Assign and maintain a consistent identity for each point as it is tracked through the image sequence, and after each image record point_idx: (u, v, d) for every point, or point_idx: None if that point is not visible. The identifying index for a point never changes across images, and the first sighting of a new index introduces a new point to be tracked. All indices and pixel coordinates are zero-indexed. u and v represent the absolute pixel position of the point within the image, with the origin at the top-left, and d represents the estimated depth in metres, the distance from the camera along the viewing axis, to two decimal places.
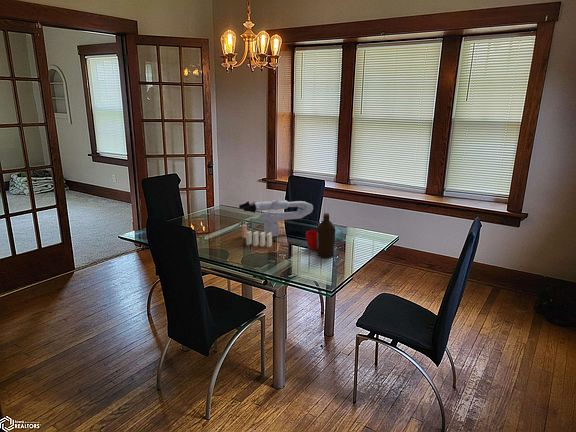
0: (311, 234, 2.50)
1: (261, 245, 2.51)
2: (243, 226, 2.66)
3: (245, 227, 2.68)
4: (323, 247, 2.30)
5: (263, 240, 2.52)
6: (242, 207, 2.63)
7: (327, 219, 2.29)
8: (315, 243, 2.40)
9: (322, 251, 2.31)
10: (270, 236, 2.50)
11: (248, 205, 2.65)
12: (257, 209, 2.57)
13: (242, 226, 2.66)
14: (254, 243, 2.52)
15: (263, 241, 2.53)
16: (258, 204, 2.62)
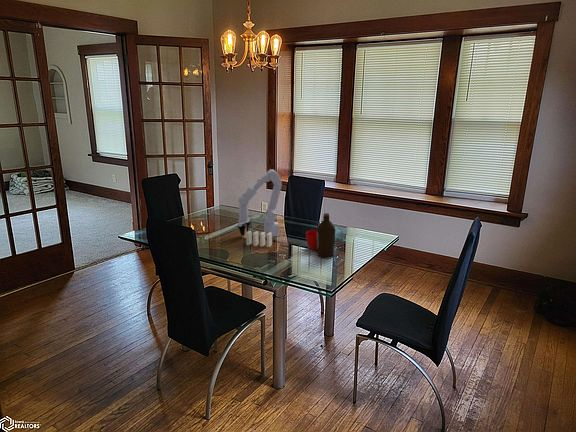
0: (311, 234, 2.50)
1: (261, 245, 2.51)
2: None
3: None
4: (323, 247, 2.30)
5: (263, 240, 2.52)
6: None
7: (327, 219, 2.29)
8: (315, 243, 2.40)
9: (322, 251, 2.31)
10: (270, 236, 2.50)
11: (245, 223, 2.71)
12: (240, 225, 2.61)
13: None
14: (254, 243, 2.52)
15: (263, 241, 2.53)
16: (240, 218, 2.65)
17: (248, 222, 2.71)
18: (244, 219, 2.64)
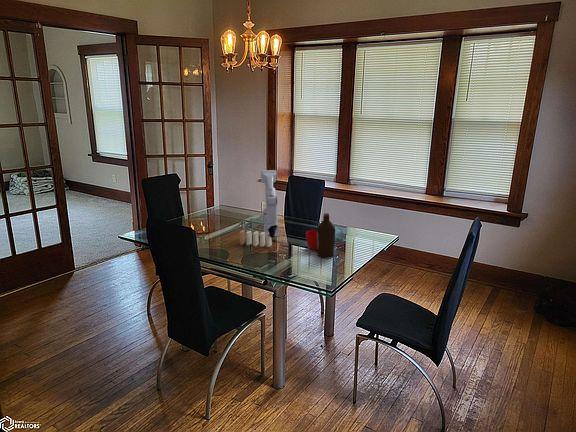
0: (311, 234, 2.50)
1: (261, 245, 2.51)
2: (241, 232, 2.53)
3: (243, 233, 2.56)
4: (323, 247, 2.30)
5: (263, 240, 2.52)
6: None
7: (327, 219, 2.29)
8: (315, 243, 2.40)
9: (322, 251, 2.31)
10: (269, 236, 2.50)
11: None
12: (267, 227, 2.42)
13: (240, 232, 2.53)
14: (254, 243, 2.52)
15: (263, 241, 2.53)
16: (267, 220, 2.46)
17: (275, 225, 2.49)
18: (272, 221, 2.45)
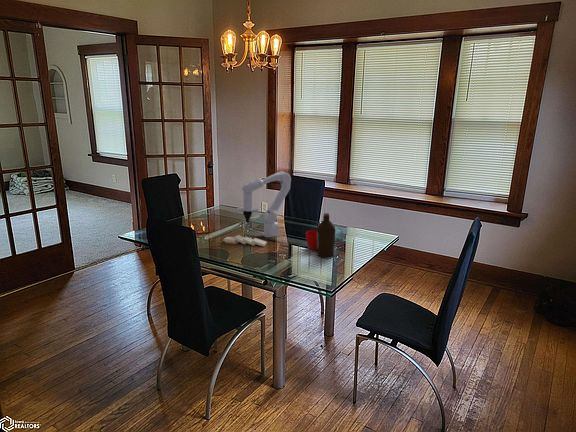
0: (311, 234, 2.50)
1: (253, 244, 2.53)
2: (225, 242, 2.58)
3: None
4: (323, 247, 2.30)
5: (250, 240, 2.55)
6: None
7: (327, 219, 2.29)
8: (315, 243, 2.40)
9: (322, 251, 2.31)
10: (256, 240, 2.54)
11: None
12: None
13: None
14: (242, 242, 2.55)
15: None
16: None
17: (248, 212, 2.62)
18: (243, 206, 2.62)
